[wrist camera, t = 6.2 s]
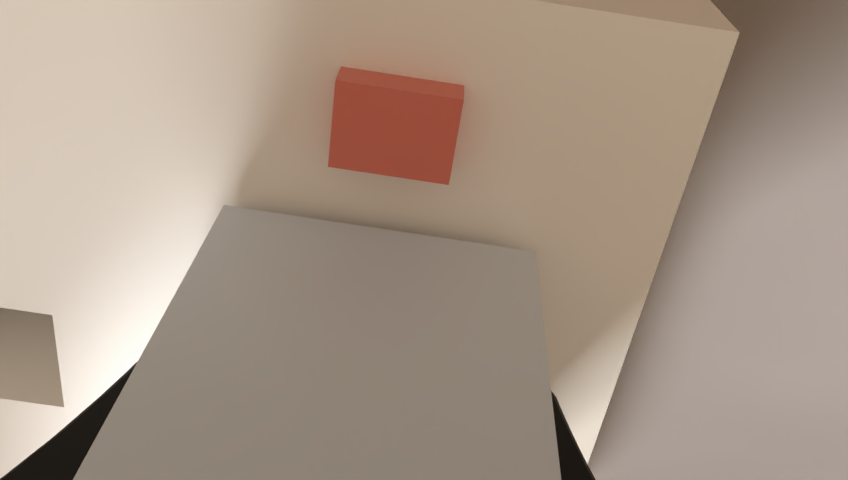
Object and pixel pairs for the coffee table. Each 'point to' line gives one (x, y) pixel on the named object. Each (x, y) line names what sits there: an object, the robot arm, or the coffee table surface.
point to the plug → (338, 362)
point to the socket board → (335, 161)
